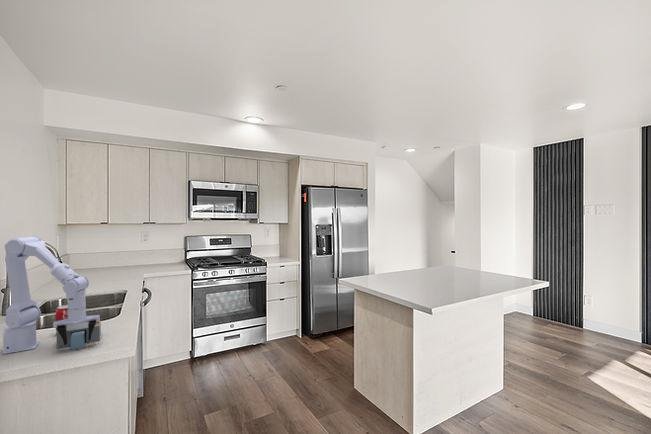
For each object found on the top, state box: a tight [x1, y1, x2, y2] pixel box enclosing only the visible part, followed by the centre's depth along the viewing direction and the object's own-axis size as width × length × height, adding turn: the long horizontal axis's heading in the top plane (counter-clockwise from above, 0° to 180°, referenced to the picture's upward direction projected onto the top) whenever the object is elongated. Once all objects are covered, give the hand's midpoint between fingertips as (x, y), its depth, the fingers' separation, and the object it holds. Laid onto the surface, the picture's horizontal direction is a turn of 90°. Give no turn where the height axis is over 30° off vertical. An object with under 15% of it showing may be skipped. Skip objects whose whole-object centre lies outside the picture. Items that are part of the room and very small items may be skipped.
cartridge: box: [70, 330, 86, 351], centre depth 135 cm, size 4×13×5 cm, turn 32°
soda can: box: [54, 304, 68, 333], centre depth 145 cm, size 7×7×12 cm
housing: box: [55, 319, 102, 349], centre depth 138 cm, size 14×9×6 cm, turn 122°
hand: (77, 341), depth 131 cm, fingers open, 7 cm apart
